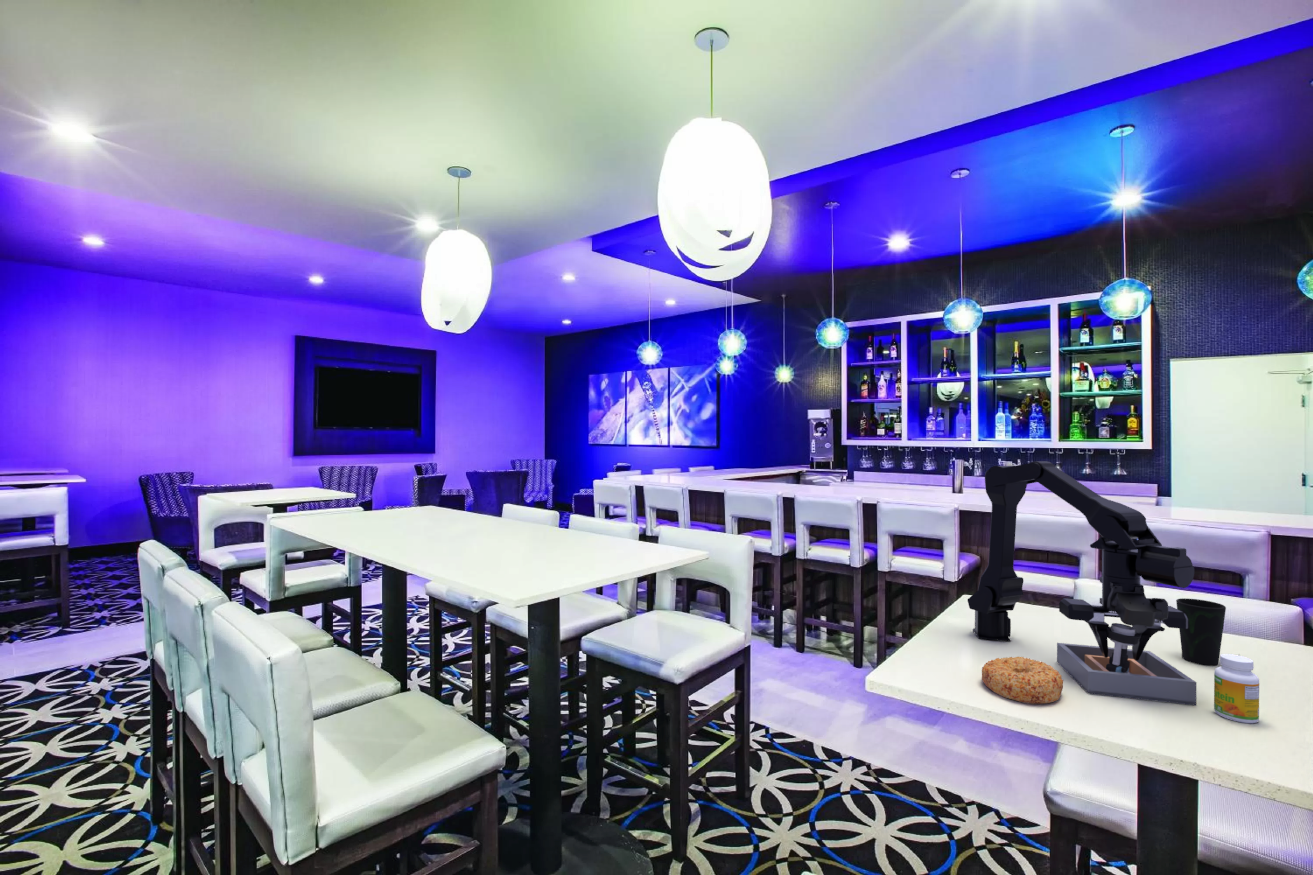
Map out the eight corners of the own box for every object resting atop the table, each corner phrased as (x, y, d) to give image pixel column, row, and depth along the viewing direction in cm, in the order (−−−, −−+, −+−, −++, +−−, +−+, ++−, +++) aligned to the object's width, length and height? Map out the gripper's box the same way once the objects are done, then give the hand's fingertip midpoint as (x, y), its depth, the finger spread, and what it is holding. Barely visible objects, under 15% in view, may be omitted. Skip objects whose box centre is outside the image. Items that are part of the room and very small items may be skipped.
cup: (1213, 656, 127) (1213, 600, 127) (1234, 669, 120) (1234, 609, 120) (1168, 652, 130) (1169, 596, 130) (1186, 664, 123) (1186, 606, 123)
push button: (1109, 668, 118) (1115, 618, 117) (1143, 680, 113) (1148, 628, 113) (1095, 675, 114) (1100, 623, 114) (1128, 687, 110) (1134, 633, 109)
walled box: (1088, 693, 108) (1088, 671, 108) (1056, 662, 124) (1057, 642, 124) (1196, 705, 104) (1196, 682, 104) (1149, 671, 119) (1149, 650, 119)
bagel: (1056, 683, 113) (1056, 657, 113) (1071, 713, 101) (1072, 683, 101) (978, 672, 118) (978, 646, 118) (984, 699, 106) (984, 670, 106)
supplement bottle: (1204, 709, 102) (1205, 652, 102) (1233, 708, 103) (1234, 651, 103) (1238, 724, 97) (1238, 664, 97) (1268, 723, 97) (1269, 663, 97)
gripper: (1080, 581, 109) (1079, 667, 109) (1206, 589, 103) (1205, 680, 103) (1058, 568, 119) (1057, 647, 119) (1171, 575, 114) (1171, 658, 114)
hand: (1120, 658), depth 114 cm, fingers closed on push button, 4 cm apart
